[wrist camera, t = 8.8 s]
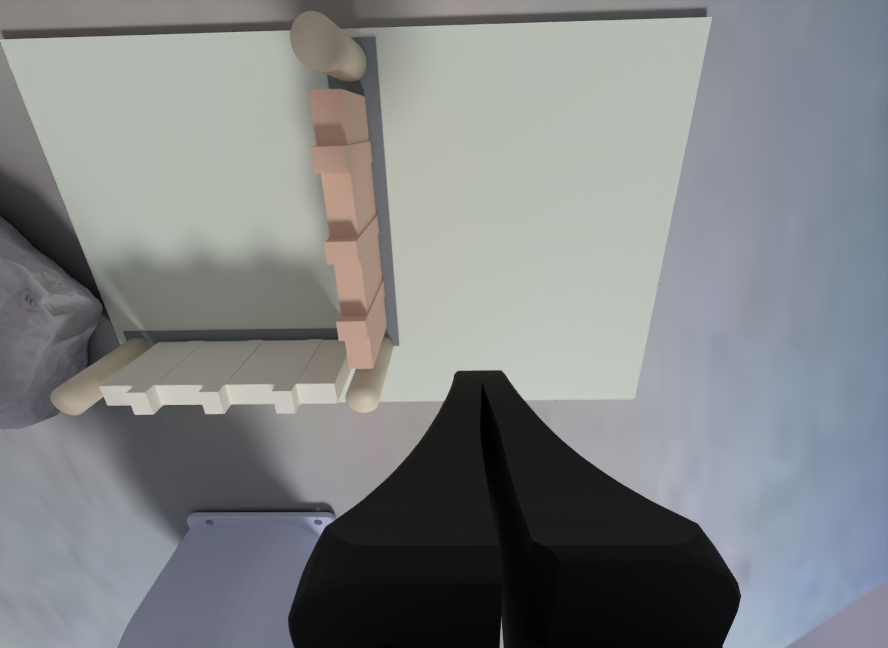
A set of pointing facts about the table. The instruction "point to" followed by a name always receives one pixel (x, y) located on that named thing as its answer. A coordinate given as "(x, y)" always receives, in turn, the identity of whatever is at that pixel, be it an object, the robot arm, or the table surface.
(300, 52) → the fence panel
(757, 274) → the table surface
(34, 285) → the stone block
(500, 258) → the card
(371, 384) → the fence fixed
